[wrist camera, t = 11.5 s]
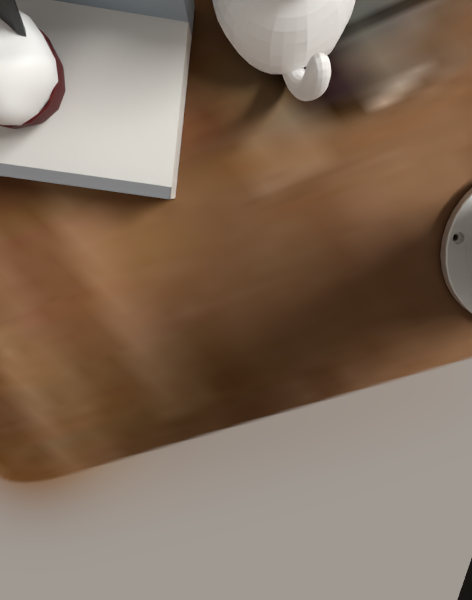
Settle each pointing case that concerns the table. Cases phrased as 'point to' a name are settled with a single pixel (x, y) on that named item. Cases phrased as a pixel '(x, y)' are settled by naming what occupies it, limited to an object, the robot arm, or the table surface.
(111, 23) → the cleat board
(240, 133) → the table surface
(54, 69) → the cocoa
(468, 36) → the table surface
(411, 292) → the table surface
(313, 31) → the cat figurine
